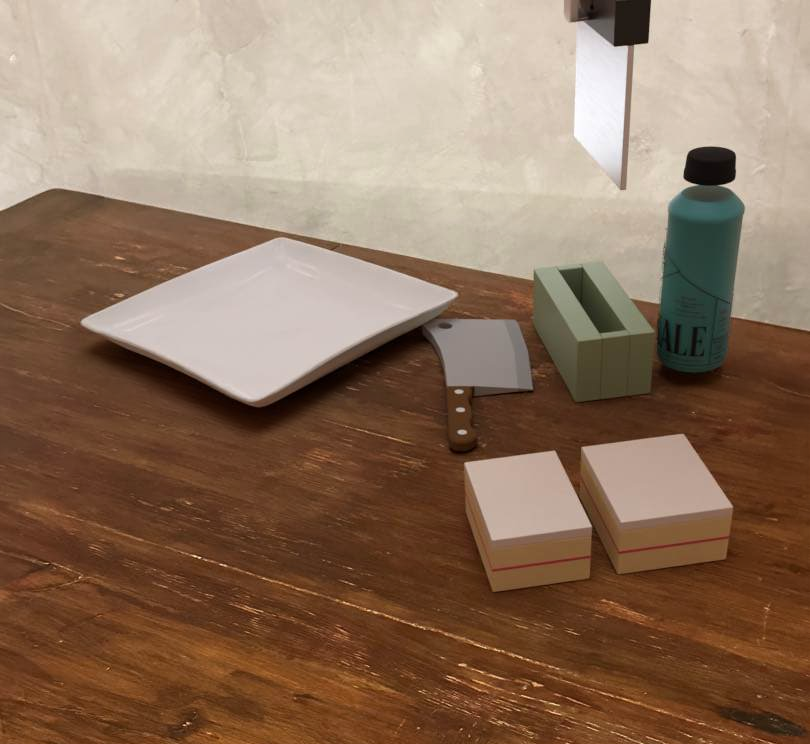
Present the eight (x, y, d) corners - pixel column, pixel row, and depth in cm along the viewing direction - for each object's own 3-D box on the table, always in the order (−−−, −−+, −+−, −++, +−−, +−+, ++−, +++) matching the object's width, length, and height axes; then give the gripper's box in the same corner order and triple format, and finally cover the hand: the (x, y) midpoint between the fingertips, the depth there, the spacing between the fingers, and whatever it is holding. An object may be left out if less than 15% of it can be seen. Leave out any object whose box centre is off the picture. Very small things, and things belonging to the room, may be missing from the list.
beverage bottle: (721, 354, 105) (748, 136, 93) (730, 389, 99) (759, 163, 87) (650, 354, 105) (667, 138, 93) (655, 389, 100) (674, 165, 88)
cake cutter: (590, 134, 84) (597, -38, 77) (639, 188, 74) (651, -3, 67) (562, 137, 84) (565, -35, 77) (607, 192, 74) (616, 1, 67)
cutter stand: (599, 317, 112) (602, 260, 109) (650, 393, 100) (655, 331, 96) (532, 325, 112) (533, 268, 108) (575, 402, 99) (577, 341, 96)
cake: (678, 483, 88) (683, 432, 86) (726, 559, 80) (734, 506, 77) (578, 496, 88) (580, 446, 85) (617, 575, 80) (620, 522, 77)
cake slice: (554, 500, 87) (555, 449, 85) (590, 579, 79) (592, 526, 77) (465, 512, 87) (463, 462, 84) (492, 593, 79) (491, 540, 76)
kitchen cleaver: (546, 441, 93) (425, 441, 93) (545, 451, 93) (425, 452, 93) (522, 315, 112) (422, 315, 112) (521, 324, 113) (422, 325, 113)
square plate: (464, 325, 113) (463, 288, 110) (258, 438, 97) (251, 399, 95) (285, 261, 128) (280, 228, 126) (82, 351, 113) (73, 315, 111)
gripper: (447, -223, 62) (456, 44, 70) (805, -252, 63) (772, 12, 72) (430, -228, 67) (440, 22, 75) (761, -255, 68) (735, -7, 77)
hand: (604, 17), depth 73 cm, fingers closed on cake cutter, 2 cm apart
